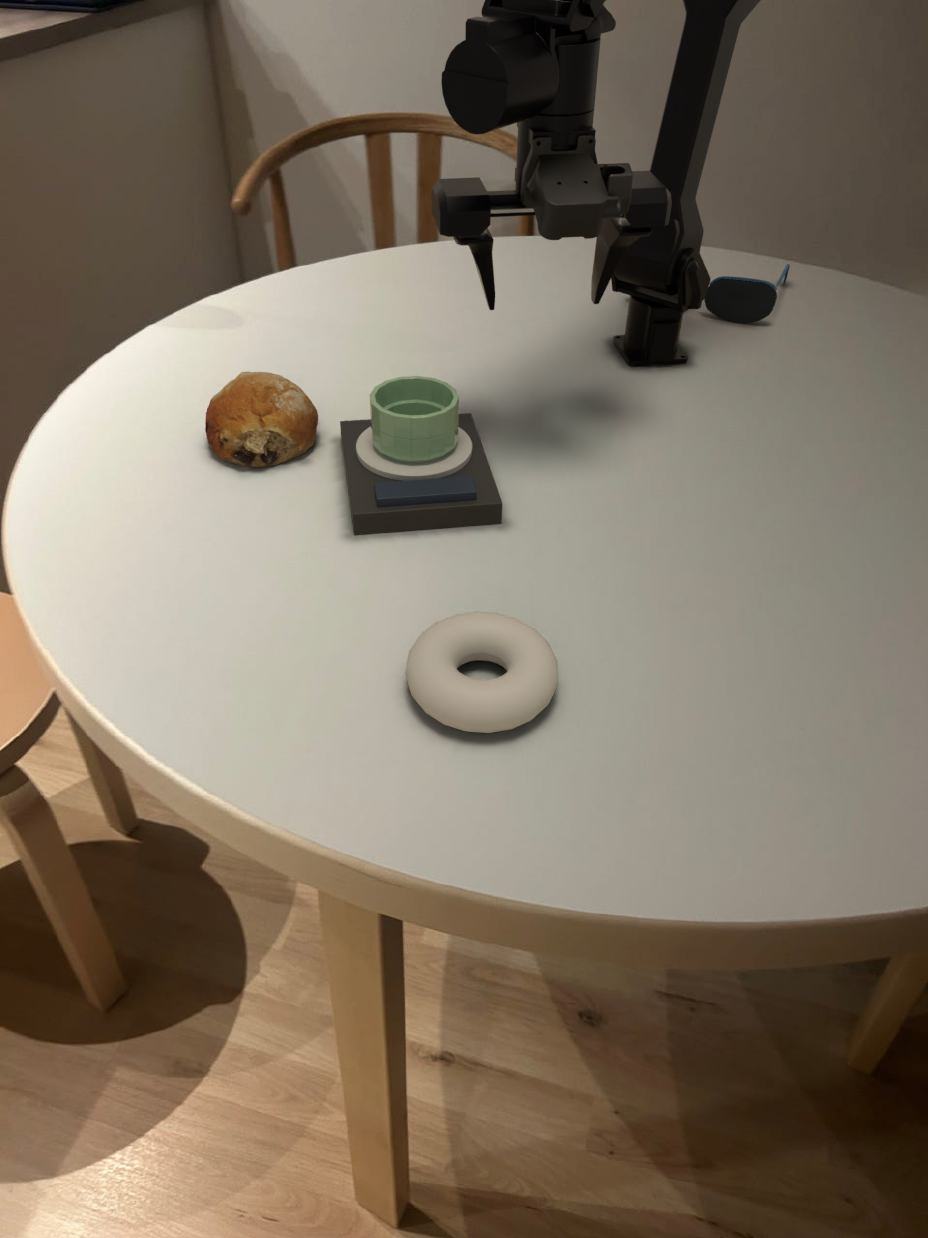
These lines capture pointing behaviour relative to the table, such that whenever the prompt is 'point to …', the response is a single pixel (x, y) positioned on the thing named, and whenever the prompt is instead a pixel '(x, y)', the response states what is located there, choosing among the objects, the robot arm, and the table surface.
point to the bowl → (414, 418)
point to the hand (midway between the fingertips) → (543, 305)
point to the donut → (479, 699)
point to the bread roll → (260, 420)
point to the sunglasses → (742, 298)
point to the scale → (418, 484)
